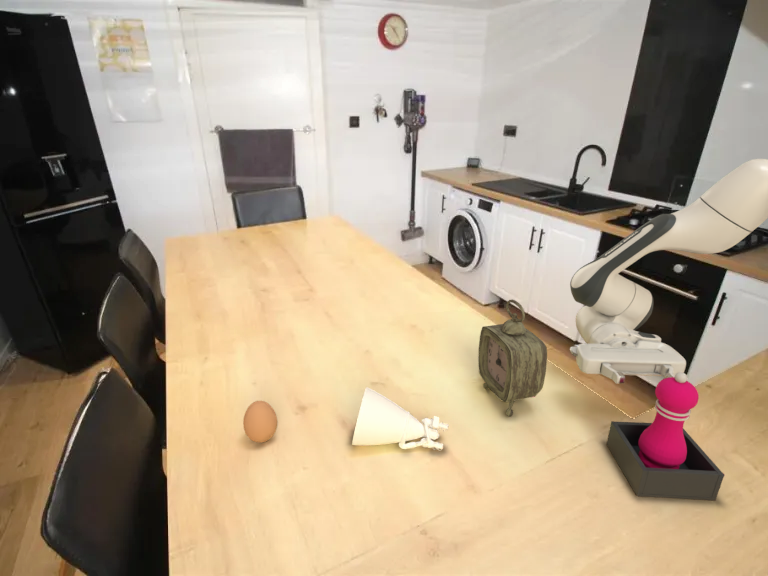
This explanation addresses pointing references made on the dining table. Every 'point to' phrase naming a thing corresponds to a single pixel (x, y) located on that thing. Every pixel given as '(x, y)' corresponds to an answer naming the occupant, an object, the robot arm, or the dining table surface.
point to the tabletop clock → (512, 360)
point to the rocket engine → (392, 424)
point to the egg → (260, 421)
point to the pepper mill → (668, 424)
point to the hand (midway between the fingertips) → (646, 381)
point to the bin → (684, 483)
